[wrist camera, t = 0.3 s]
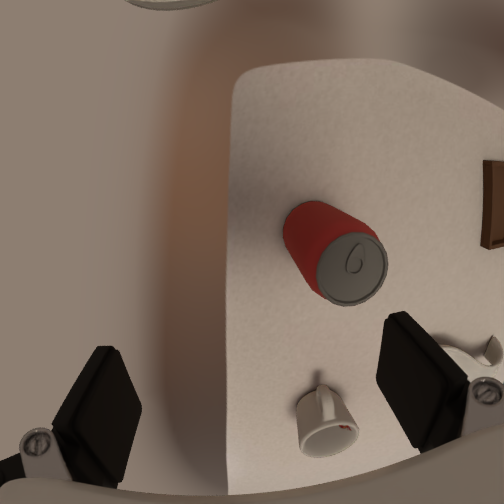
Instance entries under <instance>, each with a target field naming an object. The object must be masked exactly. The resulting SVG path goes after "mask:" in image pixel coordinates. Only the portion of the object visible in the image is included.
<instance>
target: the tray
mask: <svg viewBox="0 0 504 504" xmlns="http://www.w3.org/2000/svg"><path fill="white" fill-rule="evenodd" d="M483 179H484V194H483V221H482V235H481V246H482V247H484V248H486V249H488V250H491V249H495V248H499V247H504V162H502V161H486V160H483Z"/></svg>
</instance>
